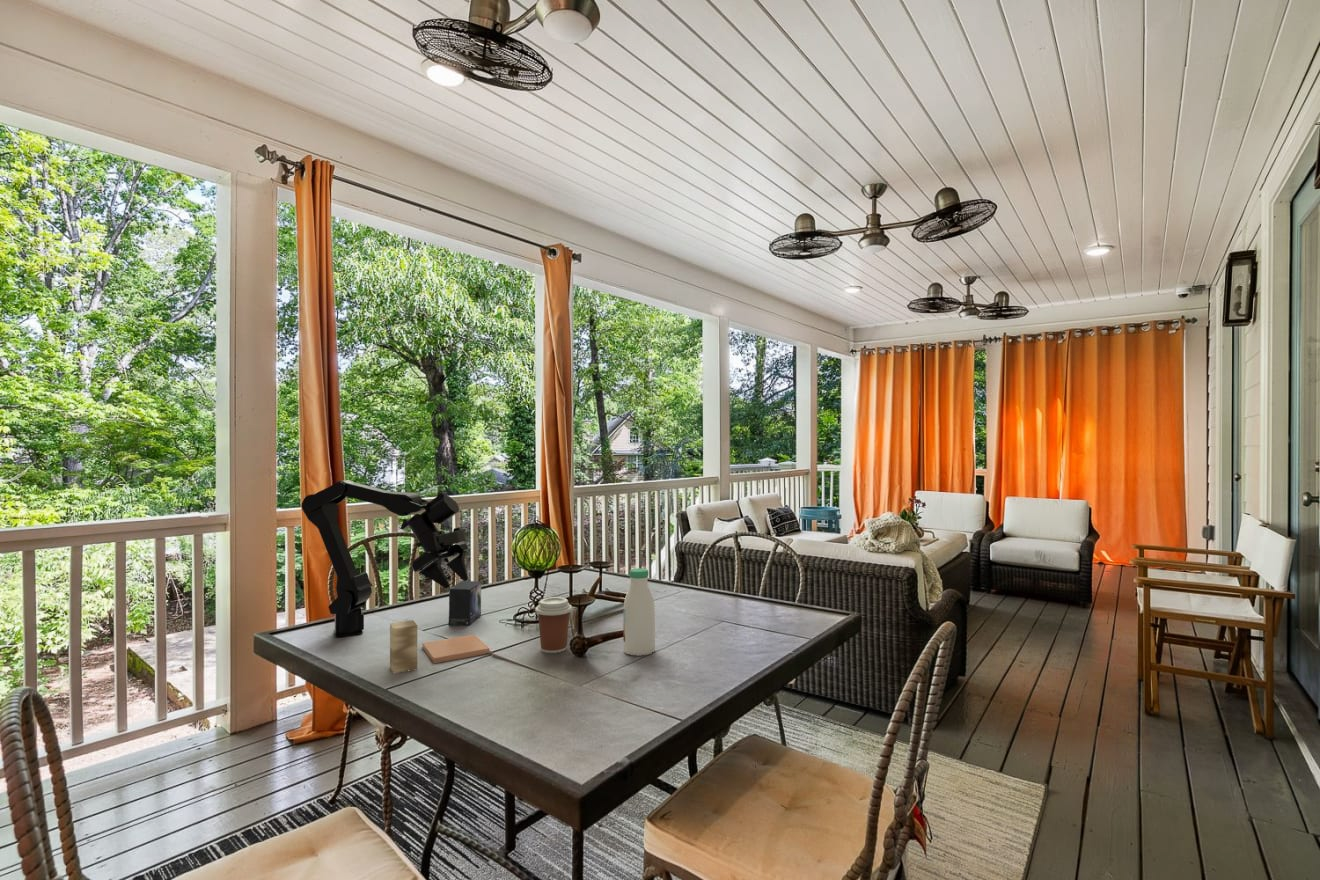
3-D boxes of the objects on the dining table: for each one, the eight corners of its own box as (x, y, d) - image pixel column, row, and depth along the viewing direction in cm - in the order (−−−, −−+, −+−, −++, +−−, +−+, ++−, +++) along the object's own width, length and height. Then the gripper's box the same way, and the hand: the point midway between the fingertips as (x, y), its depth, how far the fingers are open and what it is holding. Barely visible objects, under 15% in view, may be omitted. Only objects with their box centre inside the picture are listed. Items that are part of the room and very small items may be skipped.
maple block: (393, 673, 137) (393, 628, 137) (389, 667, 141) (389, 623, 141) (417, 669, 140) (417, 625, 140) (413, 662, 144) (413, 619, 144)
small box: (470, 626, 173) (470, 588, 173) (447, 626, 173) (447, 588, 173) (482, 615, 184) (482, 580, 184) (460, 615, 184) (460, 580, 184)
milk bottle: (661, 651, 152) (661, 569, 152) (639, 659, 146) (639, 574, 146) (639, 644, 157) (639, 565, 157) (616, 651, 151) (616, 569, 151)
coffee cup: (528, 652, 151) (527, 603, 151) (547, 641, 159) (547, 594, 159) (561, 657, 148) (560, 606, 148) (578, 645, 156) (578, 597, 156)
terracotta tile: (433, 663, 143) (433, 658, 143) (422, 647, 154) (422, 642, 154) (489, 653, 150) (489, 648, 150) (474, 638, 161) (474, 634, 161)
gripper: (429, 520, 154) (462, 573, 152) (468, 513, 172) (497, 560, 170) (397, 545, 156) (428, 598, 154) (438, 536, 174) (467, 582, 172)
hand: (457, 583), depth 162 cm, fingers open, 9 cm apart
